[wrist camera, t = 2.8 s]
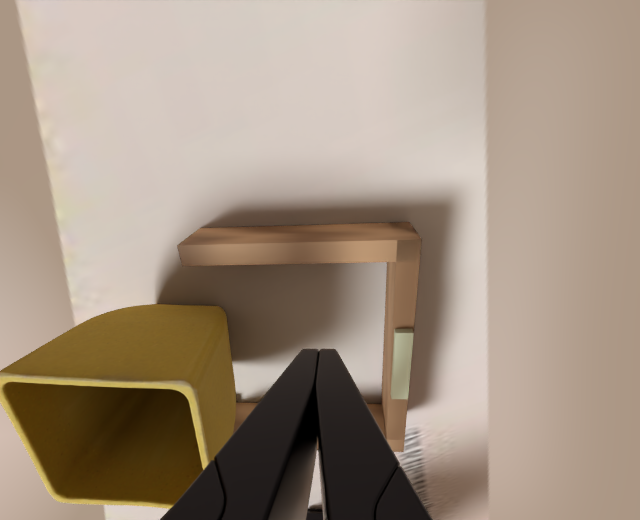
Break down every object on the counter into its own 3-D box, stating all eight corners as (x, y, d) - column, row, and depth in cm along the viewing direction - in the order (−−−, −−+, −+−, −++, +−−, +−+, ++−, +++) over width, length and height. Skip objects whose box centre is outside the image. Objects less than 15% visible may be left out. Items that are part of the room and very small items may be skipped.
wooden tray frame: (238, 413, 26) (224, 453, 23) (200, 228, 19) (173, 248, 16) (396, 415, 25) (404, 457, 22) (409, 222, 19) (423, 242, 15)
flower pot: (250, 281, 21) (192, 386, 13) (259, 382, 24) (218, 515, 16) (121, 277, 21) (-17, 375, 13) (148, 376, 25) (52, 503, 16)
